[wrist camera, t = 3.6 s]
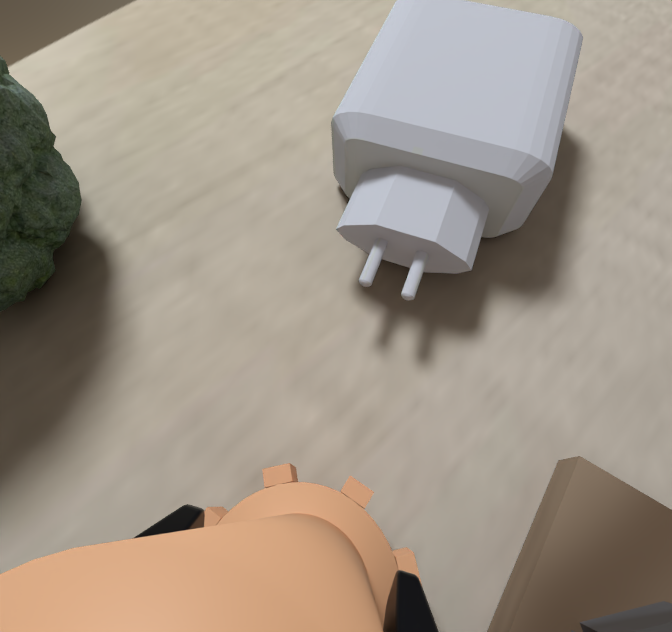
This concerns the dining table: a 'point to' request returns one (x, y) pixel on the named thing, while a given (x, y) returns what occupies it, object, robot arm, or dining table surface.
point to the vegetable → (30, 193)
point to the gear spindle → (223, 571)
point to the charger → (450, 131)
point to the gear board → (591, 559)
